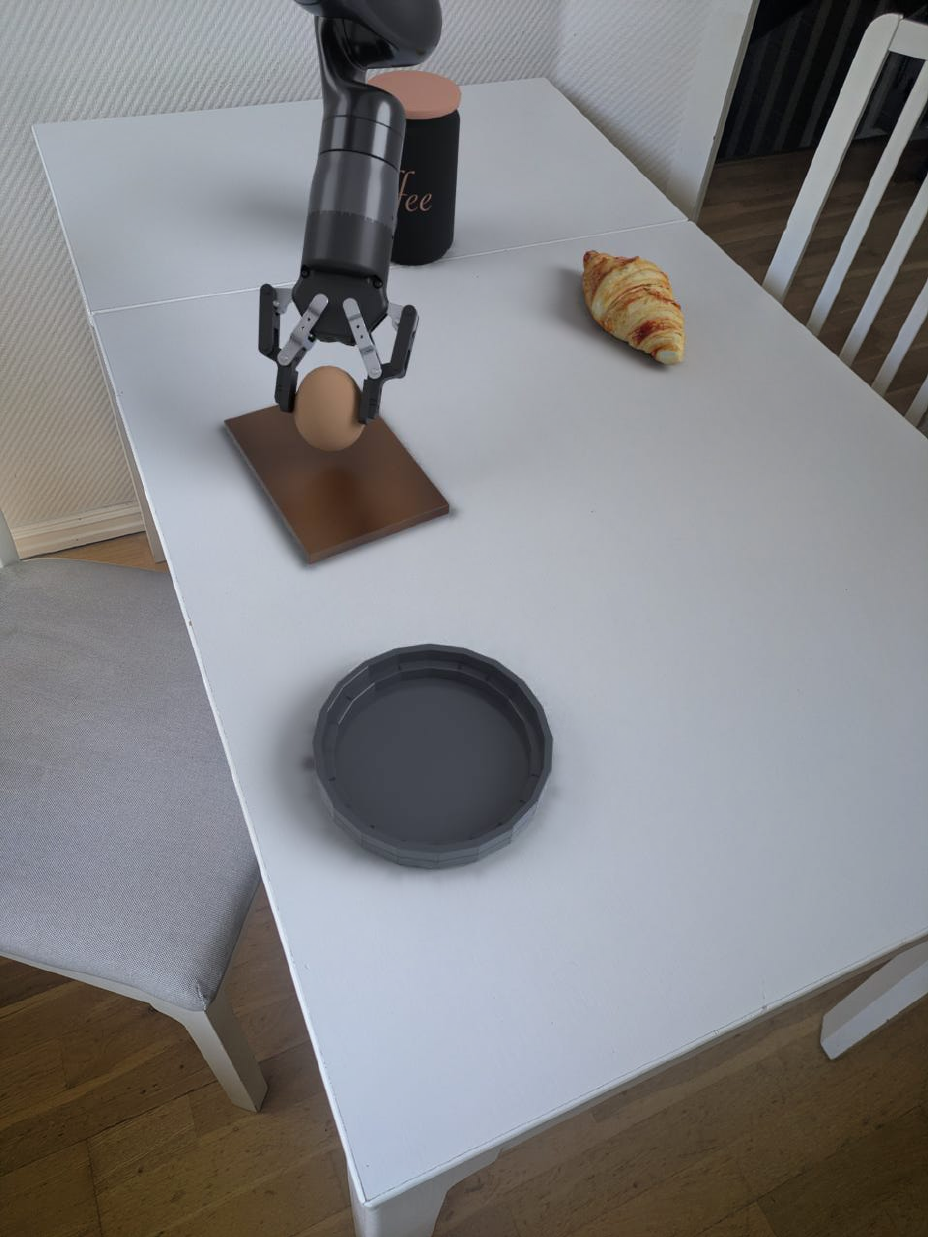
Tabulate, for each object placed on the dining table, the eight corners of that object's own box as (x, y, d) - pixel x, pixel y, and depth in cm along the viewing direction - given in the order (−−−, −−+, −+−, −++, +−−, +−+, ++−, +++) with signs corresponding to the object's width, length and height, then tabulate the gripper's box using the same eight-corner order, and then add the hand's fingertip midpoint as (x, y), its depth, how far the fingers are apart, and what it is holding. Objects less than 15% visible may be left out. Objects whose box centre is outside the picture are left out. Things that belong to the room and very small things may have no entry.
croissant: (688, 393, 103) (735, 333, 99) (631, 375, 97) (678, 311, 92) (597, 290, 114) (635, 233, 110) (540, 268, 108) (578, 206, 103)
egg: (320, 413, 87) (315, 339, 80) (379, 435, 85) (378, 362, 79) (283, 452, 83) (274, 378, 77) (344, 476, 82) (340, 403, 75)
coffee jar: (349, 247, 111) (343, 89, 97) (402, 214, 117) (403, 61, 103) (419, 278, 108) (423, 119, 94) (469, 242, 114) (480, 88, 100)
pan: (382, 914, 60) (382, 897, 58) (279, 719, 69) (275, 698, 67) (591, 802, 66) (599, 783, 64) (472, 636, 75) (475, 614, 73)
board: (309, 564, 79) (308, 555, 78) (225, 429, 89) (223, 420, 88) (449, 513, 84) (449, 504, 83) (353, 391, 94) (353, 381, 93)
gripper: (256, 195, 74) (232, 400, 76) (429, 219, 74) (400, 425, 76) (280, 224, 82) (258, 411, 84) (437, 246, 81) (410, 434, 83)
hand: (325, 417), depth 80 cm, fingers closed on egg, 6 cm apart
